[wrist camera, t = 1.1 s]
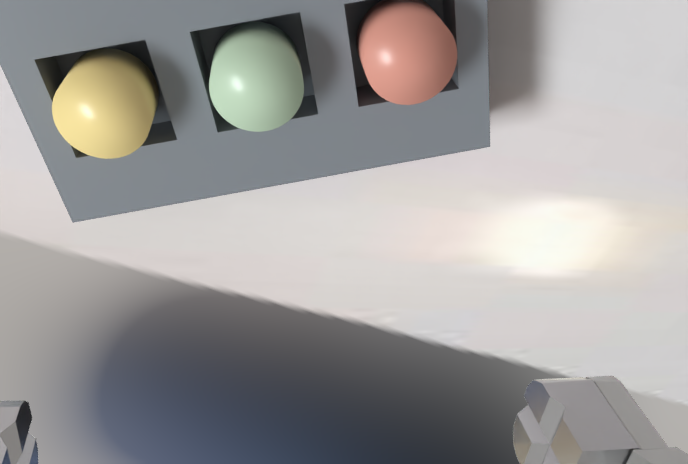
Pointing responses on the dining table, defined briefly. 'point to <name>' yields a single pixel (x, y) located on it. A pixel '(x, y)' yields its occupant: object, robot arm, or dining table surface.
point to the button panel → (202, 117)
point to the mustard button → (106, 103)
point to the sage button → (256, 77)
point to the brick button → (406, 51)
